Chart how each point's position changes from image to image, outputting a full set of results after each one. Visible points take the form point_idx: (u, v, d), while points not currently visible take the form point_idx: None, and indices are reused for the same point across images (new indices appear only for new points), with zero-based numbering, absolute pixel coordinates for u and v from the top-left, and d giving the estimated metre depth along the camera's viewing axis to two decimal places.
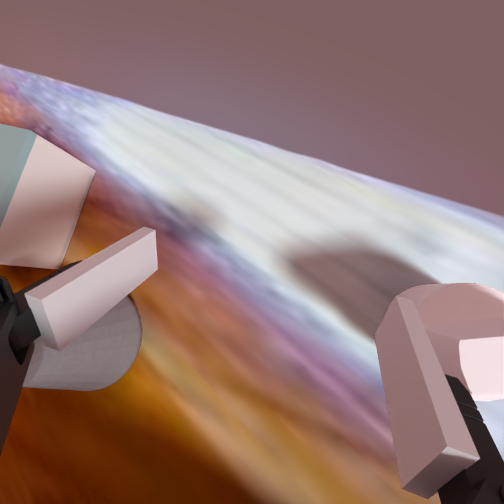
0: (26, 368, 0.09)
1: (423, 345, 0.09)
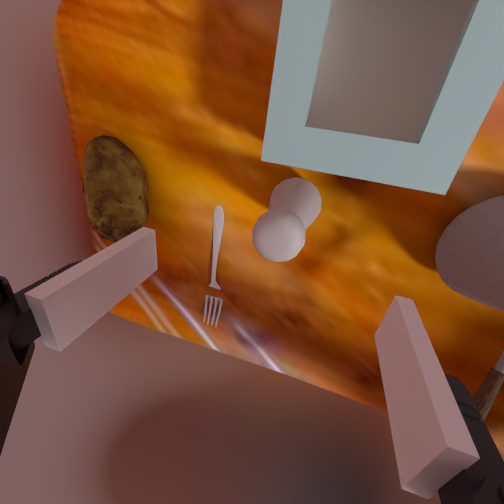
0: (26, 368, 0.09)
1: (423, 345, 0.09)
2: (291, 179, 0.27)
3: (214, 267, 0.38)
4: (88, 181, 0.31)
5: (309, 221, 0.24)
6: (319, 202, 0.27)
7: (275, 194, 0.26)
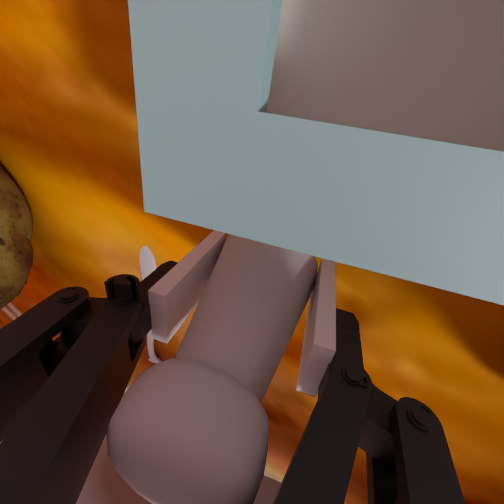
0: (135, 364, 0.10)
1: (328, 288, 0.12)
2: None
3: (150, 341, 0.25)
4: None
5: (289, 335, 0.11)
6: (312, 274, 0.13)
7: (219, 263, 0.12)
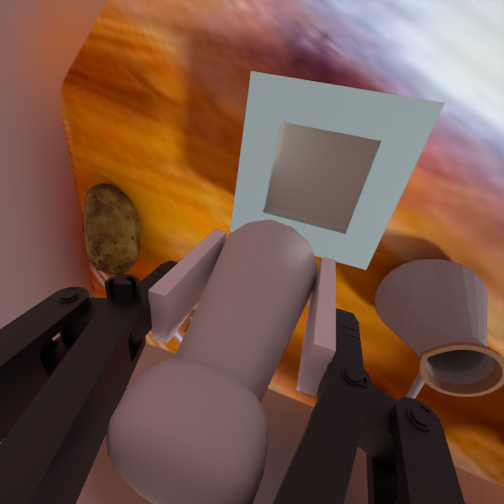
0: (135, 364, 0.10)
1: (328, 288, 0.12)
2: (256, 226, 0.13)
3: None
4: (88, 223, 0.36)
5: (288, 335, 0.11)
6: (312, 274, 0.13)
7: (219, 263, 0.12)
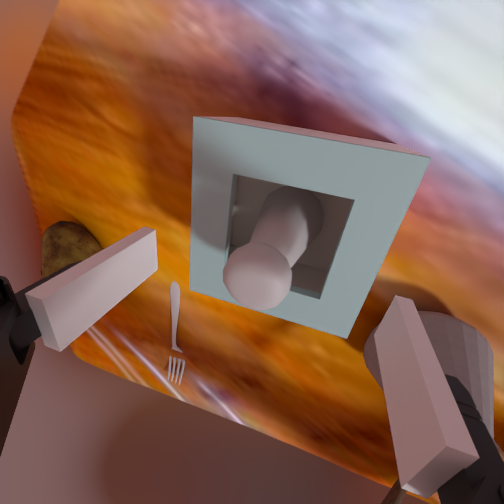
0: (26, 368, 0.09)
1: (422, 345, 0.09)
2: (287, 188, 0.22)
3: (174, 335, 0.40)
4: (45, 267, 0.33)
5: (303, 249, 0.19)
6: (320, 220, 0.21)
7: (264, 209, 0.21)
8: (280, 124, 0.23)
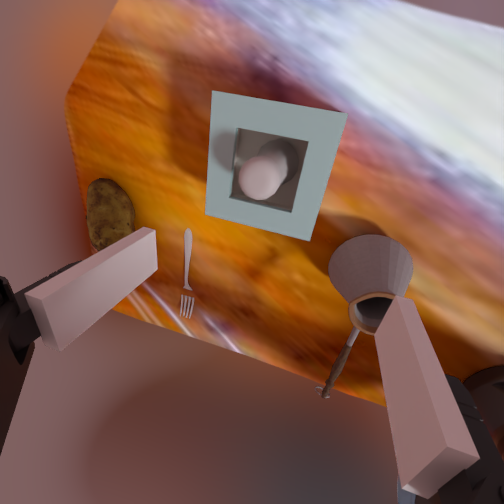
0: (26, 368, 0.09)
1: (423, 345, 0.09)
2: (274, 140, 0.32)
3: (186, 274, 0.51)
4: (90, 212, 0.43)
5: (286, 173, 0.30)
6: (296, 161, 0.32)
7: (260, 151, 0.31)
8: None
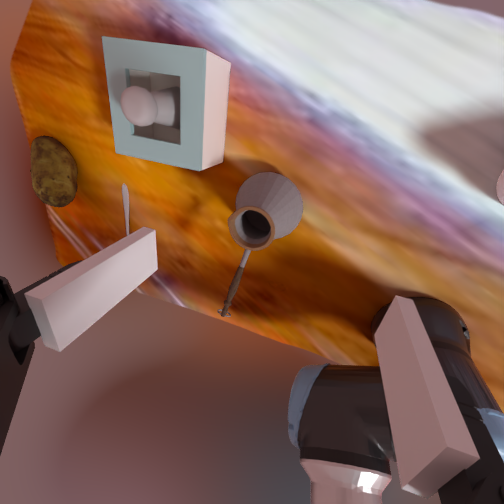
0: (26, 368, 0.09)
1: (423, 345, 0.09)
2: None
3: (127, 228, 0.56)
4: (33, 165, 0.49)
5: (174, 110, 0.35)
6: None
7: None
8: None
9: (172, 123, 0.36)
